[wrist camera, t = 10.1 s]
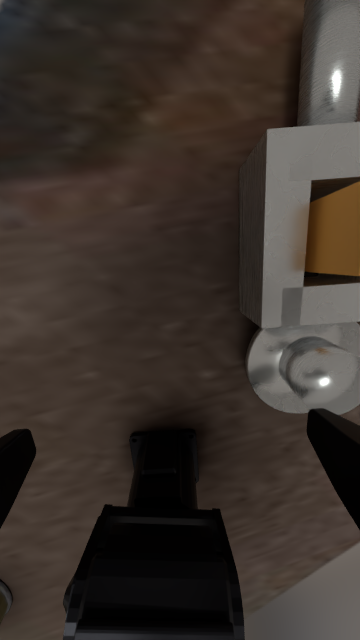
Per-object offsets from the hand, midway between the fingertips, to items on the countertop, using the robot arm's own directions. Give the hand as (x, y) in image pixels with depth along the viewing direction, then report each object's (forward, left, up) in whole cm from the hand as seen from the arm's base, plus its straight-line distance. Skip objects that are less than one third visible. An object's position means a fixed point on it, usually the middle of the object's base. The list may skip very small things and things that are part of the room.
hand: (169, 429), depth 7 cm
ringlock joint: (+6, -10, -12) cm, 17 cm away
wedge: (+6, -10, -12) cm, 17 cm away
